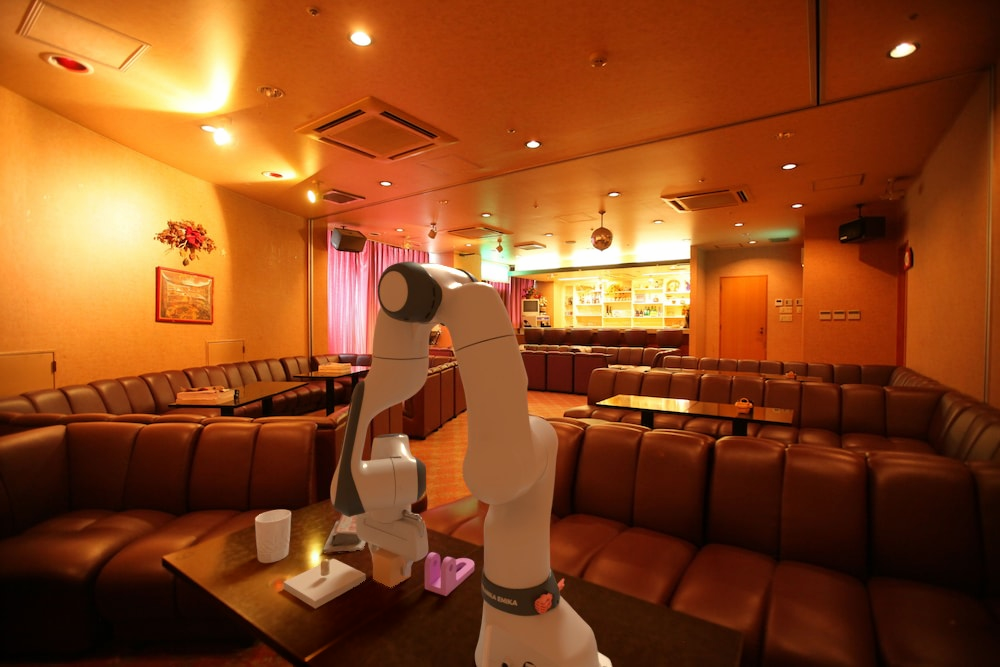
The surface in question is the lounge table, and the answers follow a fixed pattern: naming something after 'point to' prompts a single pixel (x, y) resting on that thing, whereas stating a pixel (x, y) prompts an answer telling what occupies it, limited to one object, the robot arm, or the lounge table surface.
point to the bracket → (446, 573)
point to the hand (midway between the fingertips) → (391, 568)
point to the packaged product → (344, 536)
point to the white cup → (273, 535)
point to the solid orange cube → (387, 568)
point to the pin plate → (324, 582)
